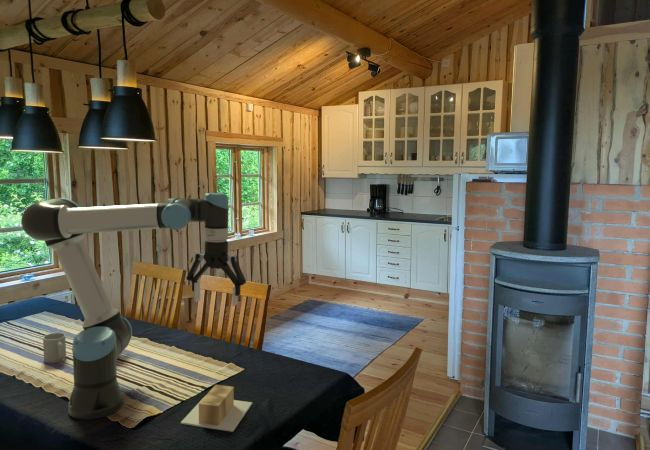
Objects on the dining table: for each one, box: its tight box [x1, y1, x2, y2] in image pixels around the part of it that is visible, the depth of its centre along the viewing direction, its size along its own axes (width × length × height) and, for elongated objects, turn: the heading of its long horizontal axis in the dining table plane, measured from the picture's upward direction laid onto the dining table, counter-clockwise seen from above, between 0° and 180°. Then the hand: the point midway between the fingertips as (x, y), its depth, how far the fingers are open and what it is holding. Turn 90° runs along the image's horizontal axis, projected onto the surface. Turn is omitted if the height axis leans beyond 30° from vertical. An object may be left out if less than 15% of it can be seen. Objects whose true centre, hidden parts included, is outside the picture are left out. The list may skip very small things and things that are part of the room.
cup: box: [42, 332, 67, 364], centre depth 176 cm, size 7×10×9 cm
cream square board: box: [180, 395, 253, 433], centre depth 144 cm, size 16×16×1 cm
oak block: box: [198, 384, 235, 426], centre depth 143 cm, size 6×6×12 cm
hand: (215, 302), depth 159 cm, fingers open, 13 cm apart
